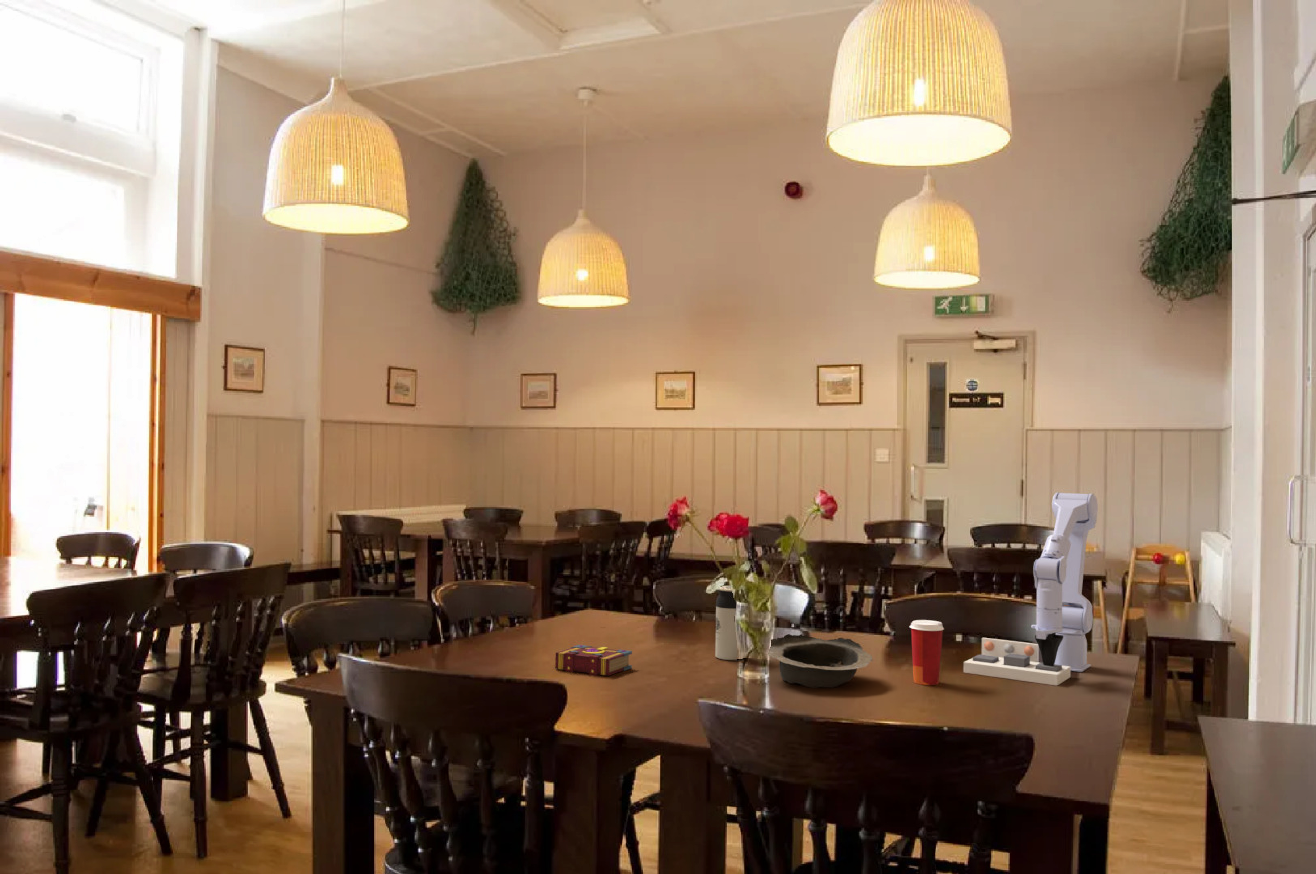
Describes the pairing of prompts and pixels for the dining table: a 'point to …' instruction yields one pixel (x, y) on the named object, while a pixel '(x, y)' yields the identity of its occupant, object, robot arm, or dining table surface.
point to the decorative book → (593, 660)
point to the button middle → (1017, 660)
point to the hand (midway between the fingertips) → (1048, 665)
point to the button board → (1017, 672)
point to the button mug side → (986, 658)
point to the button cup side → (1049, 667)
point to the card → (1009, 648)
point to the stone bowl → (817, 660)
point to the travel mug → (725, 625)
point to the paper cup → (926, 651)
